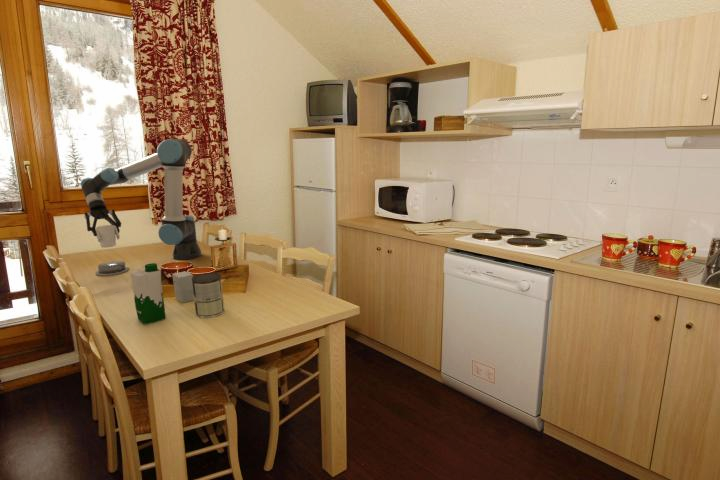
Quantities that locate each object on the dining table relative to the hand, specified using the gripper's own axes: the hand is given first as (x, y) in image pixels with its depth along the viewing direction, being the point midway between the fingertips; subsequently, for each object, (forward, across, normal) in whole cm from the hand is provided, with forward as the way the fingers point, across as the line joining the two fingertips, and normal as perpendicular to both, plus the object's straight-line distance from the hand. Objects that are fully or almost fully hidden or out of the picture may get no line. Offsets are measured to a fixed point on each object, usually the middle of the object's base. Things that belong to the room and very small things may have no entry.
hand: (109, 239), depth 223 cm
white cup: (+1, 0, -6) cm, 6 cm away
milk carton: (+69, +7, +44) cm, 82 cm away
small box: (+60, -10, +35) cm, 70 cm away
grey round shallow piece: (+10, 0, -15) cm, 18 cm away
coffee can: (+76, -10, +51) cm, 92 cm away
